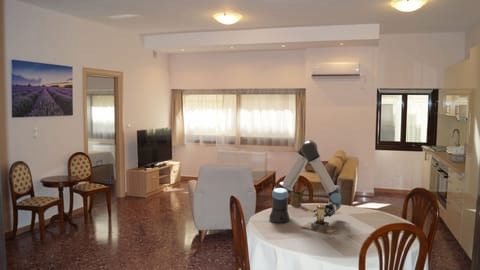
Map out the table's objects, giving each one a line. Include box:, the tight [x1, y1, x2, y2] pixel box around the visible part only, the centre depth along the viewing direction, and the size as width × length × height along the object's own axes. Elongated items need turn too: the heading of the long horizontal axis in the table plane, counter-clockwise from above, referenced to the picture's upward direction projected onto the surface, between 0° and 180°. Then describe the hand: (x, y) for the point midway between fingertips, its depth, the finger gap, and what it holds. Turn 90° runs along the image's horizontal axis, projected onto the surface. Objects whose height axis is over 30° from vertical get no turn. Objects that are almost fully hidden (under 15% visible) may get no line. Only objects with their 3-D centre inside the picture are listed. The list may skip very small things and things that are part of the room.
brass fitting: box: [315, 204, 326, 225], centre depth 276 cm, size 6×6×14 cm
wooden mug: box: [289, 185, 306, 207], centre depth 340 cm, size 9×14×18 cm, turn 55°
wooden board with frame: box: [301, 219, 340, 235], centre depth 277 cm, size 22×14×4 cm, turn 57°
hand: (317, 216), depth 272 cm, fingers closed on brass fitting, 5 cm apart
